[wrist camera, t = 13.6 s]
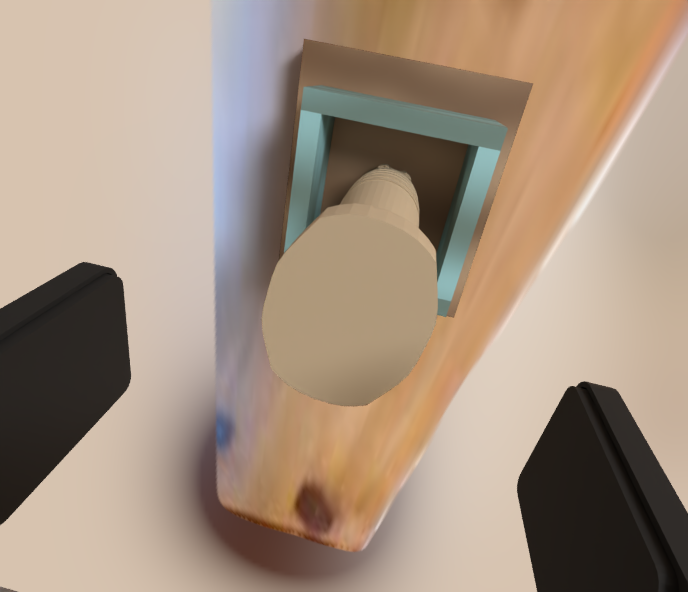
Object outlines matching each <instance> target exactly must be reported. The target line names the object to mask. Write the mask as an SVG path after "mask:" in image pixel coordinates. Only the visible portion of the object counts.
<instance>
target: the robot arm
mask: <svg viewBox="0 0 688 592" xmlns="http://www.w3.org/2000/svg"><path fill="white" fill-rule="evenodd" d="M130 379H131V371H130V358H129V347H128V335H127V324H126V312H125V301H124V289H123V282H122V280H121V278H119V277H117V274H116V272H115V271H114V270H113V269H112V268H108V267H104V266H100V265H96V264H91V263H87V262H82V263H80V264H78V265H76V266H74V267H72V268H71V269H69V270H67V271H65V272H64V273H62V274H60V275H58V276H57V277H55V278H53V279H51V280H50V281H48V282H46V283H45V284H43V285H41V286H39V287H37V288H36V289H34V290H32V291H30V292H29V293H27V294H25V295H24V296H22V297H20V298H18V299H17V300H15V301H13V302H11V303H10V304H8V305H6V306H4V307H3V308H1V309H0V525H1V524H2V523H4V522H5V521H6V520H7V519H8V518H9V517H10V515H12V513H13V512H14V511H15V510H16V509H17V508H18V507H19V506H20V505H21V504H22V503H23V501H24V500H25V499H26V498H27V497H28V496H29V495H30V494H31V493H32V492H33V491H34V490H35V488H37V486H38V485H39V484H40V483H41V482H42V481H43V480H44V479H45V478H46V477H47V475H49V473H50V472H51V471H52V470H53V469H54V468H55V467H56V466H57V465H58V464H59V463H60V462H61V460H62V459H63V458H64V457H65V456H66V455H67V454H68V453H69V451H71V450H72V448H74V446H75V445H76V444H77V443H78V442H79V441H80V440H81V439H82V438H83V437H84V436H85V435H86V433H87V432H88V431H89V430H90V429H91V428H92V427H93V426H94V425H95V424H96V423H97V422H98V420H99V419H100V418H101V417H102V416H103V415H104V414H105V413H106V412H107V411H108V410H109V409H110V408H111V406H112V405H113V404H114V403H115V402H116V401H117V400H118V399H119V398H120V397H121V396H122V395H123V393H124V392H125V391H126V390H127V388H128V386H129V383H130ZM517 493H518V499H519V503H520V508H521V514H522V519H523V524H524V528H525V533H526V538H527V543H528V548H529V553H530V558H531V562H532V568H533V573H534V578H535V582H536V588H537V592H688V513H687V511H686V509H685V508H684V506H683V504H682V502H681V501H680V499H679V497H678V496H677V494H676V492H675V490H674V488H673V487H672V485H671V483H670V482H669V480H668V478H667V476H666V474H665V473H664V471H663V469H662V468H661V466H660V464H659V462H658V461H657V459H656V457H655V455H654V454H653V452H652V450H651V448H650V446H649V445H648V443H647V441H646V440H645V438H644V436H643V434H642V433H641V431H640V429H639V427H638V426H637V424H636V422H635V420H634V419H633V417H632V415H631V413H630V412H629V410H628V408H627V406H626V405H625V403H624V401H623V399H622V398H621V396H620V394H619V393H618V391H617V390H616V389H613V388H610V387H606V386H602V385H598V384H593V383H589V382H581V383H579V384H578V385H577V386H576V387H574V386H570V387H569V388H568V389H567V390H566V392H565V393H564V395H563V397H562V399H561V401H560V402H559V404H558V406H557V408H556V410H555V412H554V413H553V415H552V417H551V419H550V421H549V423H548V425H547V426H546V428H545V430H544V432H543V434H542V435H541V437H540V439H539V441H538V443H537V445H536V446H535V448H534V450H533V452H532V454H531V456H530V457H529V459H528V461H527V463H526V465H525V467H524V468H523V470H522V472H521V474H520V476H519V479H518V484H517ZM0 592H17V591H13V590H10V589H6V588H3V587H0Z"/></svg>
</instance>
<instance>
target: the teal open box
mask: <svg viewBox="0 0 688 592" xmlns="http://www.w3.org/2000/svg"><path fill="white" fill-rule="evenodd" d="M532 85H533V83H527V82H522V81H517V80H512V79H507V78H502V77H497V76H492V75H487V74H481V73H476V72H471V71H466V70H461V69H456V68H451V67H446V66H440V65H435V64H430V63H425V62H420V61H415V60H410V59H405V58H399V57H394V56H389V55H384V54H379V53H374V52H369V51H364V50H359V49H353V48H348V47H343V46H338V45H333V44H328V43H323V42H318V41H312V40H307V39H304V44H303V53H302V61H301V70H300V79H299V88H298V97H297V105H296V114H295V123H294V132H293V140H292V149H291V158H290V167H289V176H288V184H287V193H286V202H285V211H284V220H283V228H282V237H281V246H280V255H279V260H280V258H281V257H282V255H283V254H284V253H285V251H286V250H287V249H288V248H289V247H290V245H291V244H292V243H293V242H294V241H295V240H296V238H297V237H298V236H299V235H300V234H301V233H302V232H303V231H304V230H305V229H306V228H307V227H308V226H309V225H310V224H311V223H312V222H313V221H314V220H315V219H316V218H317V217H318V216H319V215H320V214H321V213H322V212H324V211H325V210H326V209H327V208H328V207H332V206H337V205H340V203H341V201H342V200H343V198H344V197H345V195H346V194H347V192H348V191H349V189H350V188H351V187H352V186H353V185H354V183H355V182H356V181H357V180H358V179H359V178H361V177H362V176H363V175H365V174H366V173H368V172H370V171H372V170H375V169H377V167H378V166H379V165H382V164H388V165H389V166H390V167H391V168H393V169H395V170H398V171H406V172H407V173H408V174H409V175H410V177H411V183H412V184H413V186H414V188H415V190H416V193H417V196H418V203H419V229H420V230H421V231H422V232H423V233H424V235H425V236H426V237H427V238H428V239H429V241H430V242H431V243H432V245H433V246H434V248H435V250H436V263H437V287H438V310H437V315H440V316H444V317H446V316H449V317H453V318H454V315H455V313H456V310H457V307H458V304H459V301H460V298H461V295H462V292H463V289H464V286H465V283H466V280H467V277H468V274H469V271H470V268H471V265H472V262H473V259H474V256H475V254H476V251H477V248H478V245H479V242H480V239H481V236H482V233H483V230H484V227H485V224H486V221H487V218H488V215H489V212H490V209H491V206H492V203H493V200H494V197H495V195H496V192H497V189H498V186H499V183H500V180H501V177H502V174H503V171H504V168H505V165H506V162H507V159H508V156H509V153H510V150H511V147H512V144H513V141H514V138H515V136H516V133H517V130H518V127H519V124H520V121H521V118H522V115H523V112H524V109H525V106H526V103H527V100H528V97H529V94H530V91H531V88H532Z"/></svg>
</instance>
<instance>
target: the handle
mask: <svg viewBox="0 0 688 592" xmlns="http://www.w3.org/2000/svg"><path fill="white" fill-rule="evenodd" d="M437 310H438V287H437V263H436V250H435V248H434V246H433V245H432V243H431V242H430V241H429V239H428V238H427V237H426V236H425V235H424V233H423V232H422V231H421V230H420V229H419V203H418V196H417V193H416V190H415V188H414V186H413V184H412V183H411V177H410V175H409V174H408V173H407V172H406V171H398V170H395V169H393V168H391V167H390V166H389V165H388V164H382V165H379V166H378V167H377V169H375V170H372V171H370V172H368V173H366V174H365V175H363V176H362V177H361V178H359V179H358V180H357V181H356V182H355V183H354V185H353V186H352V187H351V188H350V189H349V191H348V192H347V194H346V195H345V197H344V198H343V200H342V201H341V203H340V205H337V206H332V207H328V208H327V209H326V210H325V211H324V212H322V213H321V214H320V215H319V216H318V217H317V218H316V219H315V220H314V221H313V222H312V223H311V224H310V225H309V226H308V227H307V228H306V229H305V230H304V231H303V232H302V233H301V234H300V235H299V236H298V237H297V238H296V240H295V241H294V242H293V243H292V244H291V245H290V247H289V248H288V249H287V250H286V251H285V253H284V254H283V255H282V257H281V258H280V260H279V262H278V263H277V265H276V268H275V270H274V273H273V275H272V278H271V281H270V285H269V288H268V292H267V295H266V299H265V302H264V306H263V313H262V331H263V337H264V341H265V346H266V350H267V354H268V358H269V362H270V366H271V369H272V370H273V372H274V373H275V374H276V375H277V376H278V377H279V378H280V379H281V380H283V381H284V382H285V383H286V384H287V385H288V386H290V387H292V388H293V389H295V390H297V391H298V392H300V393H302V394H304V395H307V396H309V397H311V398H313V399H316V400H319V401H322V402H326V403H329V404H334V405H340V406H364V405H368V404H369V403H371V402H372V401H374V400H376V399H377V398H379V397H380V396H382V395H383V394H385V393H386V392H388V391H389V390H391V389H392V388H393V387H395V386H396V385H398V384H399V383H400V382H401V381H402V380H403V379H405V378H406V377H407V376H408V375H409V374H410V372H411V371H412V369H413V368H414V366H415V365H416V364H417V362H418V360H419V358H420V356H421V354H422V352H423V350H424V349H425V347H426V345H427V343H428V341H429V339H430V337H431V335H432V332H433V330H434V327H435V324H436V318H437Z"/></svg>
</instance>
